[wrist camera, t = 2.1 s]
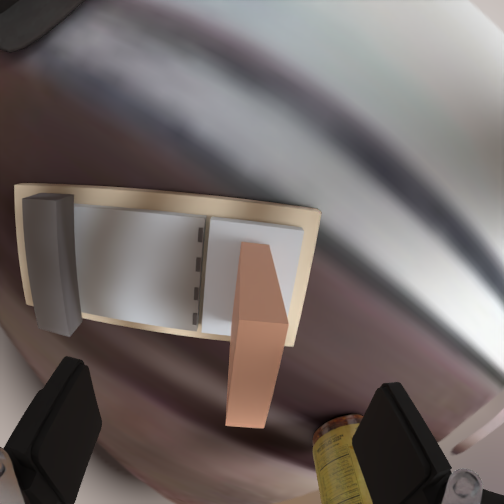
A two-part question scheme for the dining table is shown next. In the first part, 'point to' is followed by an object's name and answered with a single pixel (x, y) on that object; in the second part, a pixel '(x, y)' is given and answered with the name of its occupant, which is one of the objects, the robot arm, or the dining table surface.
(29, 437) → the robot arm
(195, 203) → the ticket board
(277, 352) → the tan and white stand
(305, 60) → the dining table surface
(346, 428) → the sauce bottle
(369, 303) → the dining table surface
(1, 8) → the casserole
